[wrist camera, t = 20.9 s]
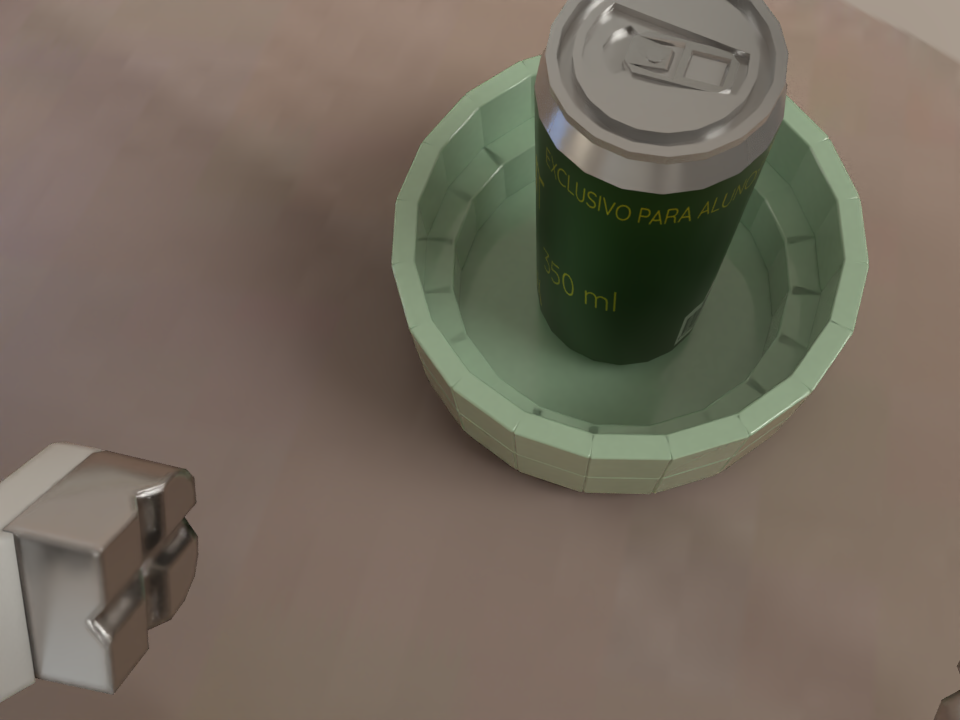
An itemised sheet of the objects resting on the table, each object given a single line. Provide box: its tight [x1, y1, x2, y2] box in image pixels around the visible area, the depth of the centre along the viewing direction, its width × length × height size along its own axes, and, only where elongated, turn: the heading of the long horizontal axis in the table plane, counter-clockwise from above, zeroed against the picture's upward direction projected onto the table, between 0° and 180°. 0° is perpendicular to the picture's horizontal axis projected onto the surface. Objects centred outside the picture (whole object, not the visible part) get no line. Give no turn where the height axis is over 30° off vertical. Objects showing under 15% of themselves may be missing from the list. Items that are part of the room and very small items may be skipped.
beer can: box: [534, 0, 789, 365], centre depth 24 cm, size 5×5×12 cm
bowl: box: [391, 55, 869, 494], centre depth 28 cm, size 13×13×5 cm
